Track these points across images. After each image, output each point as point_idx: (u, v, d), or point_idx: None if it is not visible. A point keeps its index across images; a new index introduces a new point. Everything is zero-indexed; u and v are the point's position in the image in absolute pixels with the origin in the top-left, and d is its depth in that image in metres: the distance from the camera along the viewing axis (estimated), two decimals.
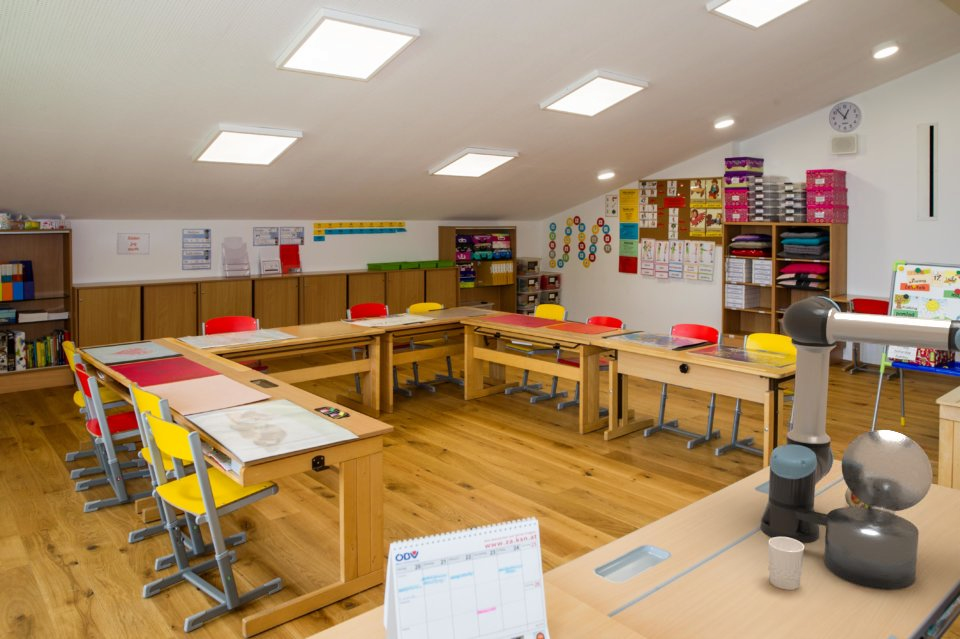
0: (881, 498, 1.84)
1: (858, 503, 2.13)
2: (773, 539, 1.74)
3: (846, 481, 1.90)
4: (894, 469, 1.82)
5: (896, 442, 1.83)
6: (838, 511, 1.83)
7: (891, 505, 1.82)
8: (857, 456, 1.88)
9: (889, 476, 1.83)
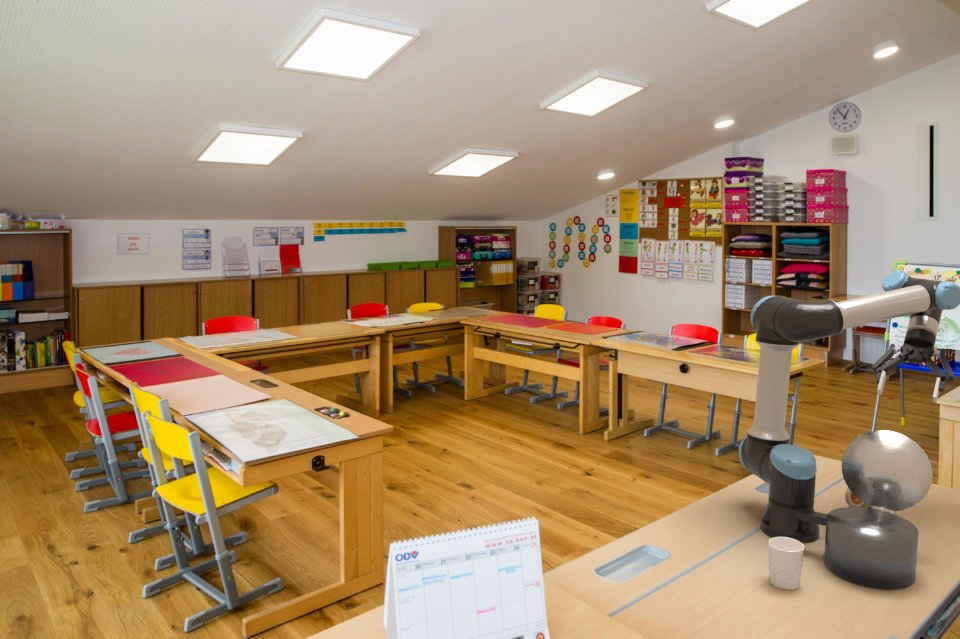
0: (881, 498, 1.84)
1: (858, 503, 2.13)
2: (773, 539, 1.74)
3: (846, 481, 1.90)
4: (894, 469, 1.82)
5: (896, 442, 1.83)
6: (838, 511, 1.83)
7: (891, 505, 1.82)
8: (857, 456, 1.88)
9: (889, 476, 1.83)
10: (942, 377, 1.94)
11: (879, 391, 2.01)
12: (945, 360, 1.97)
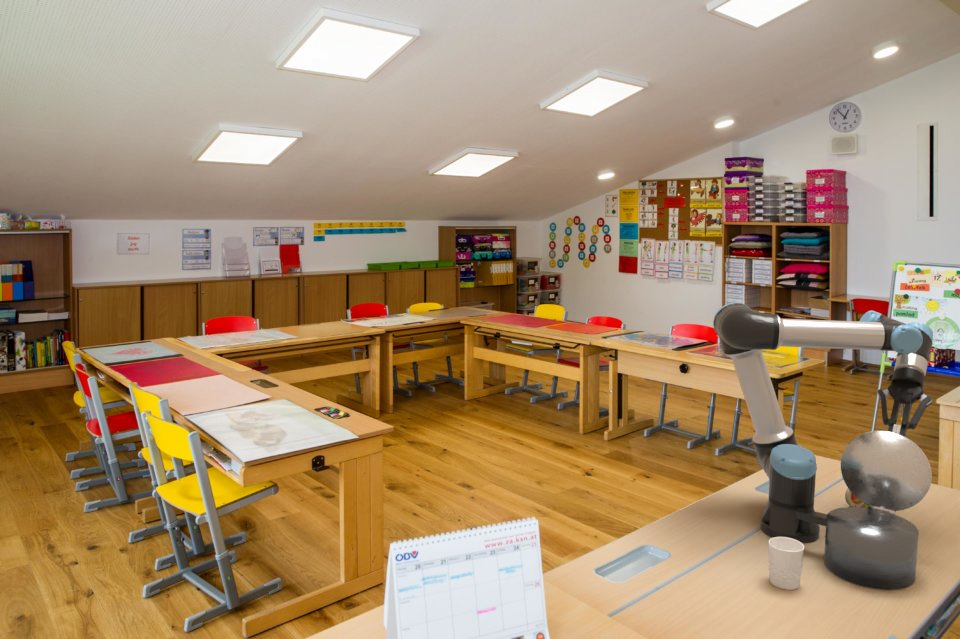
0: (881, 498, 1.84)
1: (858, 503, 2.13)
2: (773, 539, 1.74)
3: (845, 481, 1.89)
4: (894, 469, 1.82)
5: (895, 442, 1.81)
6: (838, 511, 1.83)
7: (891, 505, 1.82)
8: (855, 457, 1.87)
9: (888, 476, 1.82)
10: (901, 424, 1.87)
11: None
12: (921, 407, 1.87)
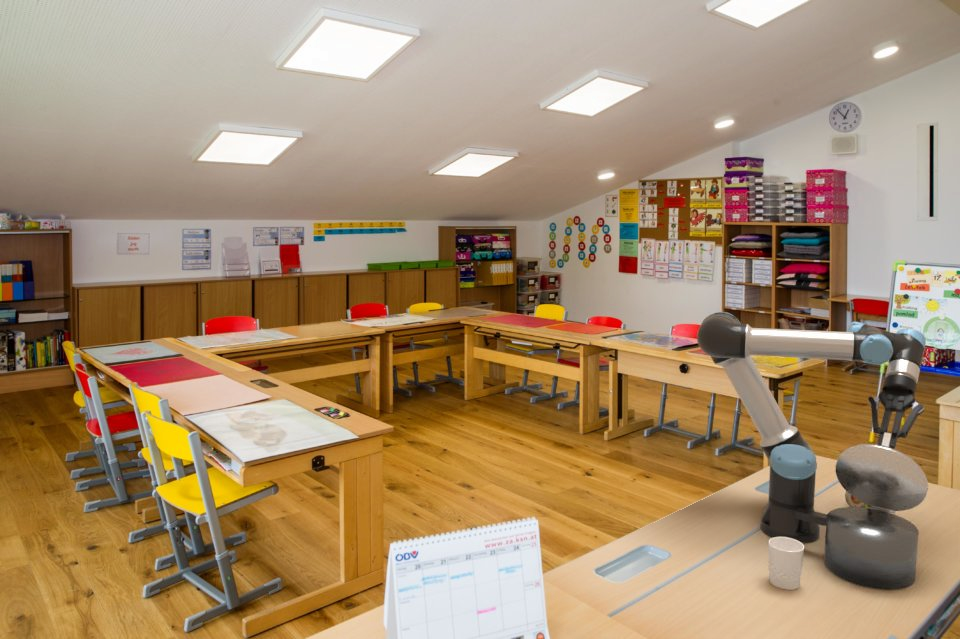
0: (879, 500, 1.83)
1: (858, 503, 2.13)
2: (773, 539, 1.74)
3: (843, 485, 1.87)
4: (889, 478, 1.78)
5: (887, 457, 1.75)
6: (838, 511, 1.83)
7: (891, 506, 1.82)
8: (849, 467, 1.83)
9: (884, 484, 1.79)
10: (892, 432, 1.81)
11: None
12: (912, 415, 1.81)
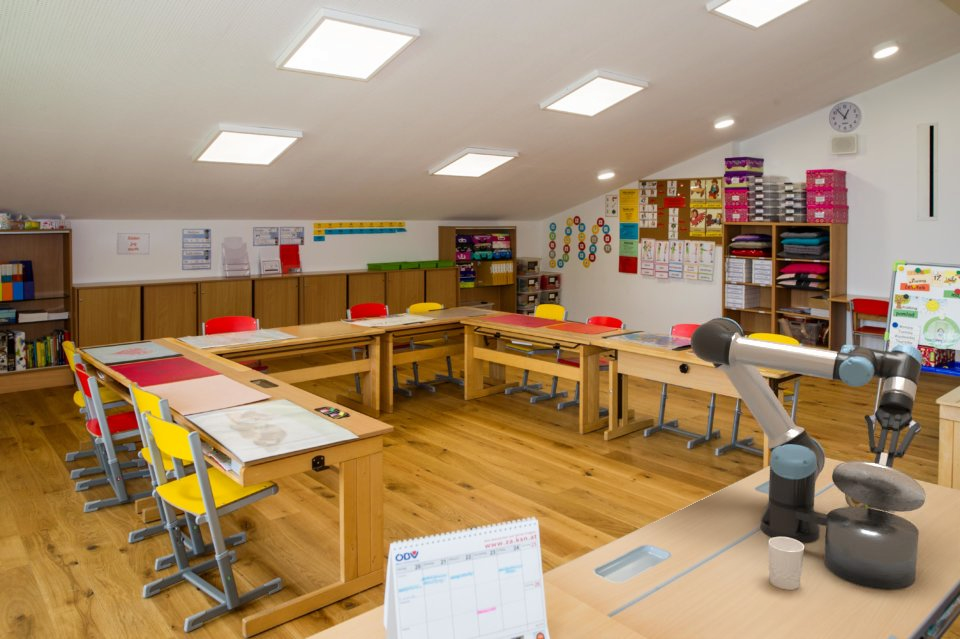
0: (879, 503, 1.82)
1: (858, 503, 2.13)
2: (773, 539, 1.74)
3: (841, 490, 1.86)
4: (886, 489, 1.76)
5: (882, 474, 1.72)
6: (838, 511, 1.83)
7: (890, 508, 1.81)
8: (846, 478, 1.81)
9: (882, 492, 1.78)
10: (888, 452, 1.78)
11: None
12: (909, 435, 1.78)
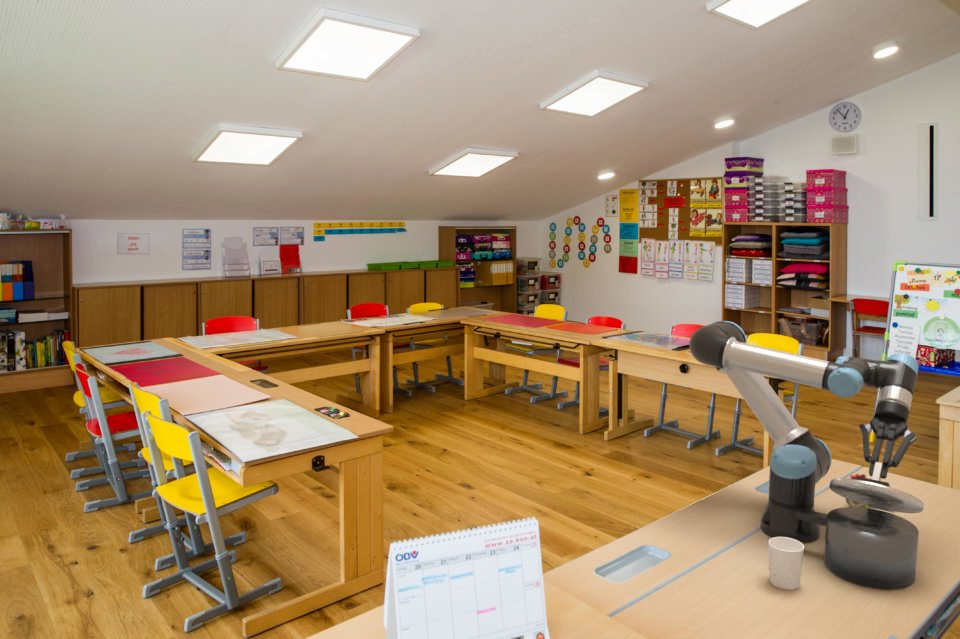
0: (878, 505, 1.82)
1: (858, 503, 2.13)
2: (773, 539, 1.74)
3: (840, 495, 1.86)
4: (884, 499, 1.75)
5: (878, 491, 1.70)
6: (838, 511, 1.83)
7: (890, 509, 1.81)
8: (843, 489, 1.79)
9: (880, 500, 1.77)
10: (883, 462, 1.76)
11: None
12: (904, 444, 1.77)
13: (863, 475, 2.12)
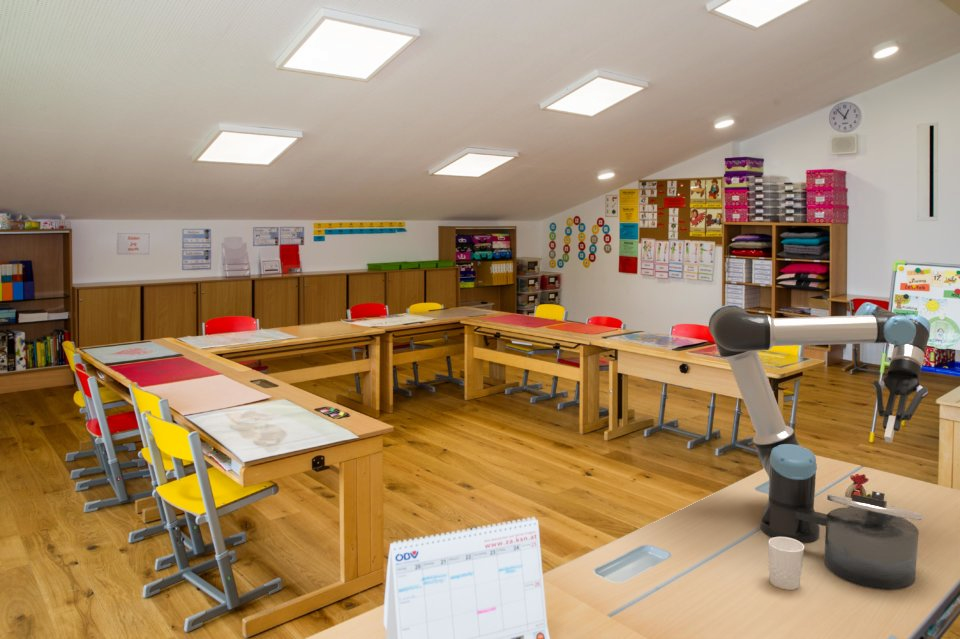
0: None
1: None
2: (773, 539, 1.74)
3: None
4: None
5: None
6: (838, 511, 1.83)
7: None
8: None
9: None
10: (896, 415, 1.85)
11: (886, 438, 1.84)
12: (916, 398, 1.86)
13: (863, 475, 2.12)
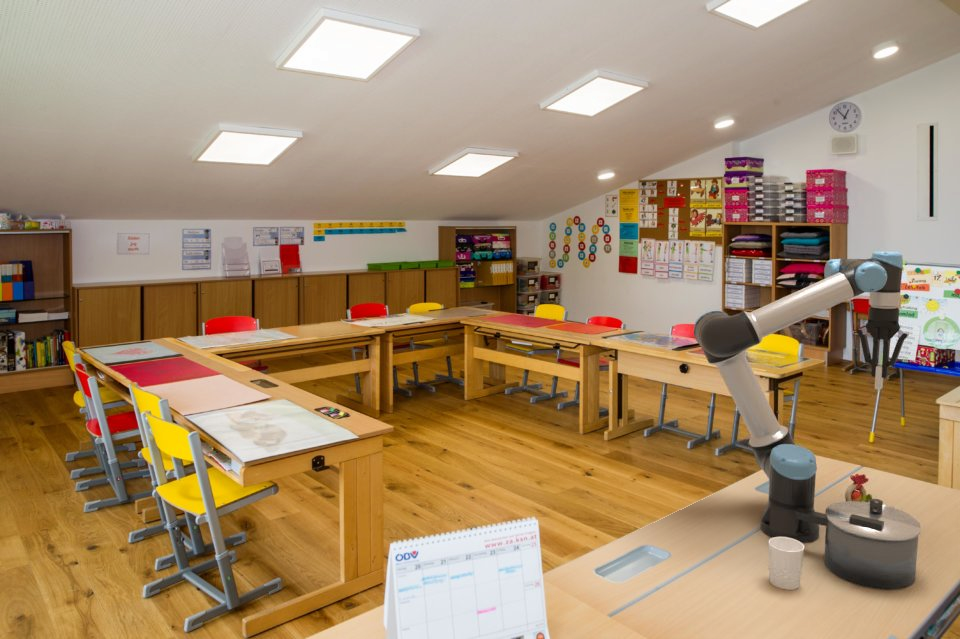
0: None
1: None
2: (773, 539, 1.74)
3: None
4: None
5: None
6: None
7: None
8: None
9: None
10: None
11: None
12: (898, 347, 1.97)
13: (863, 475, 2.12)
